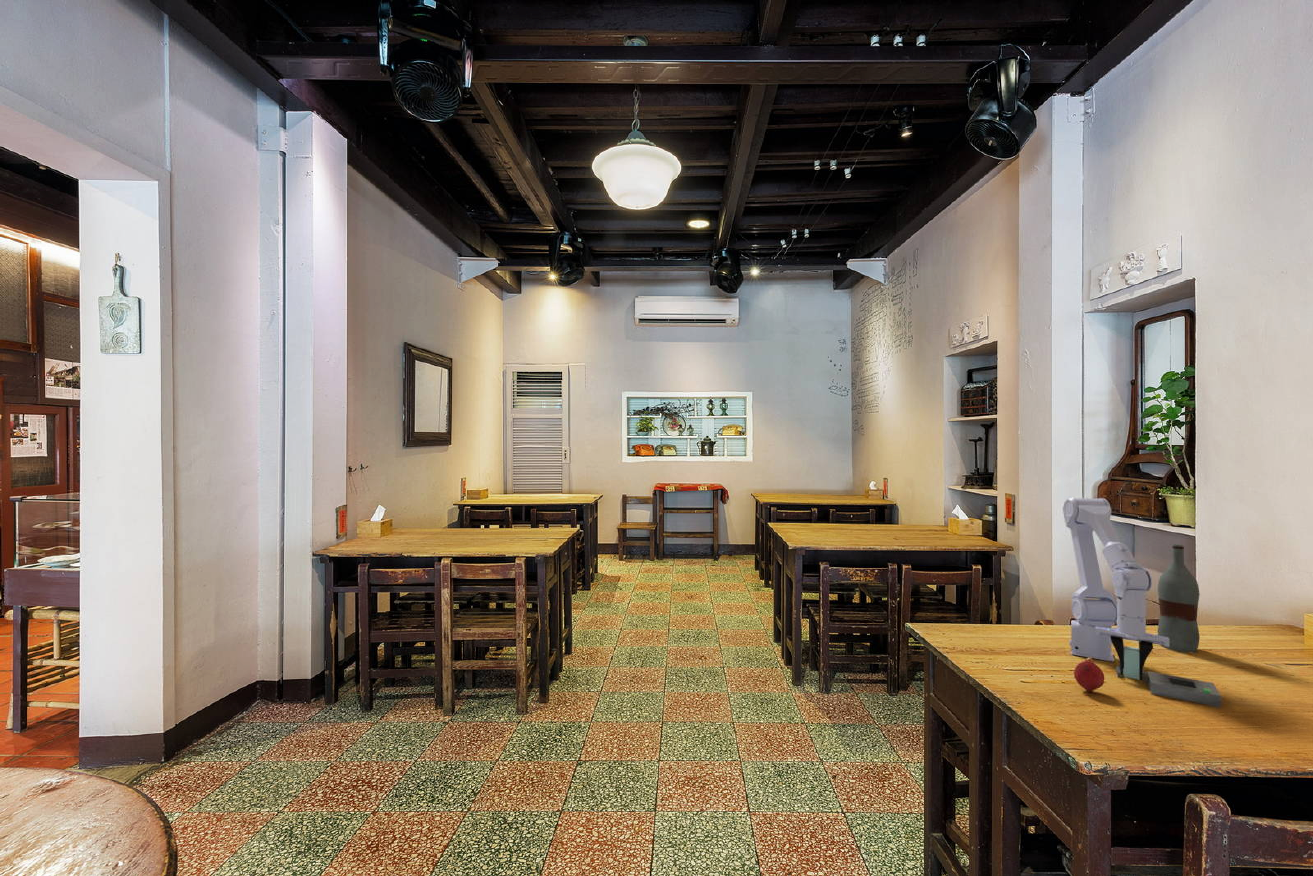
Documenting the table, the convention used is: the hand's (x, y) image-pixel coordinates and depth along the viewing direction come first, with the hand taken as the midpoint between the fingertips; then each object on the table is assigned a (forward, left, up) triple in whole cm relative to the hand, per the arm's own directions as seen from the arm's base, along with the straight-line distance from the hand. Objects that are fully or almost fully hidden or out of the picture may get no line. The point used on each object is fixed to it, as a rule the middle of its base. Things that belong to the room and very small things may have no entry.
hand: (1131, 668), depth 149 cm
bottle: (+13, +37, -2) cm, 39 cm away
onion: (-9, -18, -2) cm, 21 cm away
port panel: (+9, -6, -2) cm, 11 cm away
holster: (0, 0, -2) cm, 2 cm away
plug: (0, 0, -2) cm, 2 cm away
